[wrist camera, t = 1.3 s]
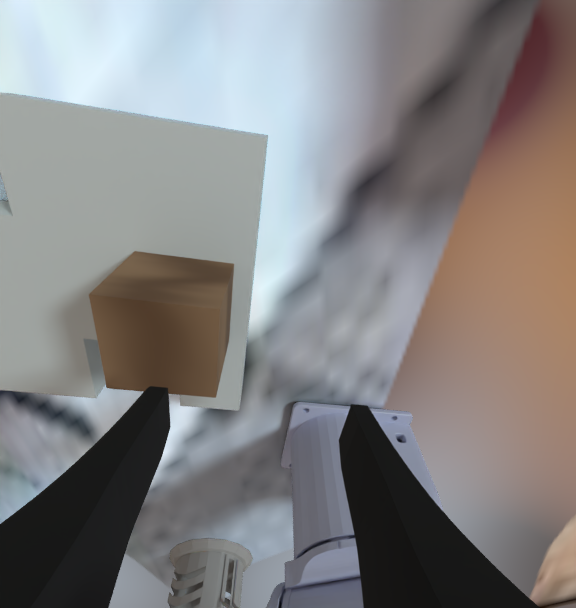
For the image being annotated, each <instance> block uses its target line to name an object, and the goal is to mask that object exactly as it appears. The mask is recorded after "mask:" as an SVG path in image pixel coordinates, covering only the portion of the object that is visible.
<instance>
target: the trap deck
mask: <svg viewBox="0 0 576 608" xmlns="http://www.w3.org/2000/svg"><path fill="white" fill-rule="evenodd" d="M267 141H268V135H262V134H256V133H250V132H244V131H238V130H232V129H226V128H220V127H214V126H207V125H201V124H195V123H189V122H183V121H177V120H171V119H165V118H159V117H153V116H147V115H141V114H134V113H128V112H122V111H116V110H110V109H104V108H98V107H92V106H86V105H80V104H74V103H68V102H61V101H55V100H49V99H43V98H37V97H31V96H25V95H19V94H12V93H0V173H1V177H2V180H3V183H4V187H5V190H6V194H7V197H8V201H2V200H0V390H7V391H19V392H30V393H42V394H53V395H65V396H76V397H88V398H97V396H98V395H99V393H100V392H101V390H102V389H103V387H104V386H105V384H106V382H105V376H104V371H103V366H102V361H101V356H100V351H99V345H98V340H97V335H96V330H95V325H94V319H93V314H92V309H91V304H90V299H89V294H90V293H91V292H92V291H93V290H94V289H95V288H96V287H97V286H98V285H99V284H100V283H101V282H102V281H103V280H104V279H106V278H107V277H108V276H109V275H110V274H111V273H112V272H113V271H114V270H115V269H116V268H117V267H118V266H119V265H120V264H122V263H123V262H124V261H125V260H126V259H127V258H128V257H129V256H130V255H131V254H132V253H133V252H134V251H138V252H146V253H154V254H162V255H169V256H177V257H185V258H193V259H201V260H209V261H217V262H224V263H232V264H234V275H233V290H232V305H231V320H230V335H229V343H228V347H227V352H226V356H225V360H224V365H223V369H222V373H221V378H220V382H219V386H218V391H217V395H216V398H212V397H201V396H190V395H180V406H192V407H203V408H215V409H226V410H238V411H239V407H240V400H241V393H242V385H243V375H244V365H245V356H246V346H247V336H248V326H249V317H250V307H251V297H252V287H253V278H254V268H255V258H256V248H257V239H258V229H259V219H260V209H261V200H262V190H263V180H264V170H265V161H266V151H267Z"/></svg>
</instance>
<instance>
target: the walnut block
mask: <svg viewBox="0 0 576 608" xmlns="http://www.w3.org/2000/svg"><path fill="white" fill-rule="evenodd" d="M233 275H234V264H232V263H224V262H217V261H209V260H201V259H193V258H185V257H177V256H169V255H162V254H154V253H146V252H138V251H134V252H133V253H132V254H131V255H130V256H129V257H128V258H127V259H126V260H125V261H124V262H123V263H122V264H120V265H119V266H118V267H117V268H116V269H115V270H114V271H113V272H112V273H111V274H110V275H109V276H108V277H107V278H106V279H104V280H103V281H102V282H101V283H100V284H99V285H98V286H97V287H96V288H95V289H94V290H93V291H92V292H91V293H90V294H89V299H90V304H91V309H92V314H93V319H94V325H95V330H96V335H97V340H98V345H99V351H100V356H101V361H102V366H103V371H104V376H105V382H106V387H107V388H112V389H123V390H134V391H145V390H146V389H147V388H148V387H150V386H155V387H166V388H168V394H179V395H190V396H201V397H212V398H216V395H217V391H218V386H219V382H220V378H221V373H222V369H223V365H224V360H225V356H226V352H227V347H228V343H229V335H230V320H231V305H232V290H233Z"/></svg>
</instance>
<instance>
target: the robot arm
mask: <svg viewBox="0 0 576 608" xmlns="http://www.w3.org/2000/svg"><path fill="white" fill-rule="evenodd" d="M305 408H307V409H305ZM412 419H413V417H412V415H411V413H410V412H407V411H395V410H385V409H374V408H369V407H368V406H364V405H353V404H351V406H341V405H330V404H318V403H307V402H296V403H295V404H294V405H293V408H292V412H291V417H290V421H289V426H288V430H287V435H286V439H285V444H284V448H283V453H282V457H281V466H282V467H283V468H289V469H292V503H293V538H294V560H292V561H288V562H285V582H283V583H280V584H278V585H277V586H276V587H275V589H274V591H273V593H272V595H271V598H270V600H269V602H268V604H267V607H266V608H540V607H538V606H537V605H536V604H535V603H534V602H533V601H532V600H530V599H529V598H528V597H527V596H526V595H525V594H524V593H522V592H521V591H520V590H519V589H518V588H517V587H516V586H515V585H514V584H513V583H512V582H511V581H510V580H509V579H508V578H507V577H505V576H504V575H503V574H502V573H501V572H500V571H499V570H498V569H497V568H496V567H495V566H494V565H493V564H492V563H491V562H490V561H489V560H488V559H487V558H486V557H485V556H484V555H483V554H482V553H481V552H480V551H479V550H478V549H477V548H476V547H475V546H474V545H473V544H472V543H471V542H470V541H469V540H468V539H467V538H466V536H465V535H464V534H463V533H462V532H461V531H460V530H459V529H458V528H457V527H456V526H455V525H454V524H453V522H452V521H451V520H450V519H449V518H448V517H447V516H446V514H445V513H444V512H443V508H442V504H441V501H440V498H439V495H438V492H437V490H436V487H435V485H434V482H433V480H432V478H431V475H430V473H429V470H428V468H427V466H426V463H425V461H424V458H423V456H422V453H421V451H420V448H419V446H418V444H417V441H416V439H415V436H414V434H413V431H412V429H411V427H410V423H411V421H412ZM169 430H170V413H169V396H168V388H166V387H155V386H150V387H148V388H147V389H146V390H145V391H144V392H143V394H142V395H141V396H140V397H139V398H138V399H137V401H136V402H135V403H134V404H133V405H132V406H131V407H130V408H129V410H128V411H127V412H126V413H125V414H124V415H123V416H122V417H121V418H120V419H119V420H118V421H117V422H116V423H115V424H114V426H113V427H112V428H111V429H110V430H109V431H108V432H107V433H106V434H105V435H104V436H103V437H102V438H101V439H100V440H99V441H98V442H97V443H96V444H95V445H94V446H93V447H92V448H91V449H89V450H88V451H87V452H86V453H85V454H84V455H83V456H82V457H81V458H80V459H79V460H78V461H77V462H76V463H75V464H74V465H72V466H71V467H70V468H69V469H68V470H67V471H66V472H65V473H63V474H62V475H61V476H60V477H59V478H58V479H57V480H55V481H54V482H53V483H52V484H51V485H49V486H48V487H47V488H46V489H45V490H43V491H42V492H41V493H40V494H39V495H37V496H36V497H35V498H33V499H32V500H31V501H30V502H28V503H27V504H26V505H25V506H23V507H22V508H21V509H19V510H18V511H17V512H16V513H14V514H13V515H12V516H10V517H9V518H8V519H6V520H5V521H4V522H2V523H1V524H0V608H108V607H109V603H110V600H111V597H112V593H113V590H114V587H115V583H116V580H117V576H118V573H119V570H120V567H121V564H122V560H123V557H124V554H125V551H126V548H127V544H128V541H129V538H130V536H131V533H132V530H133V527H134V525H135V522H136V520H137V517H138V515H139V512H140V510H141V507H142V505H143V502H144V500H145V497H146V495H147V492H148V490H149V487H150V485H151V482H152V480H153V477H154V475H155V472H156V470H157V467H158V465H159V462H160V460H161V457H162V454H163V451H164V447H165V444H166V440H167V437H168V433H169Z"/></svg>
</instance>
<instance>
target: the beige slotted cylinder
mask: <svg viewBox="0 0 576 608" xmlns="http://www.w3.org/2000/svg"><path fill="white" fill-rule="evenodd" d="M169 558H170V560H171V562H172V564H173V566H174V567H175V571H174V573H175V575H176V578H177V581H176V580H175V579H174V578H173V580H172V584H171V588H172V590H173V592H174V595H173V596H172V595H171V593H169V597H168V603H169V606H170V608H224V606H225V607H227V608H240V602H241V590H242V578H243V572H244V571H245V570H246V569H247V568H248V567H249V566H250V564H251V562H252V559H253V558H252V555H251V553H250V551H249V550H247V549H246V548H244V547H243V546H241V545H240V544H237V543H234V542H231V541H227V540H221V539H211V538H205V539H194V540H189V541H186V542H183V543H180V544H178V545H177V546H175V547H174V548H173V549H172V550H171V551H170V557H169ZM225 592H228V593H230V594H231V599H230V600H229V599H227V598H225Z"/></svg>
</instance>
